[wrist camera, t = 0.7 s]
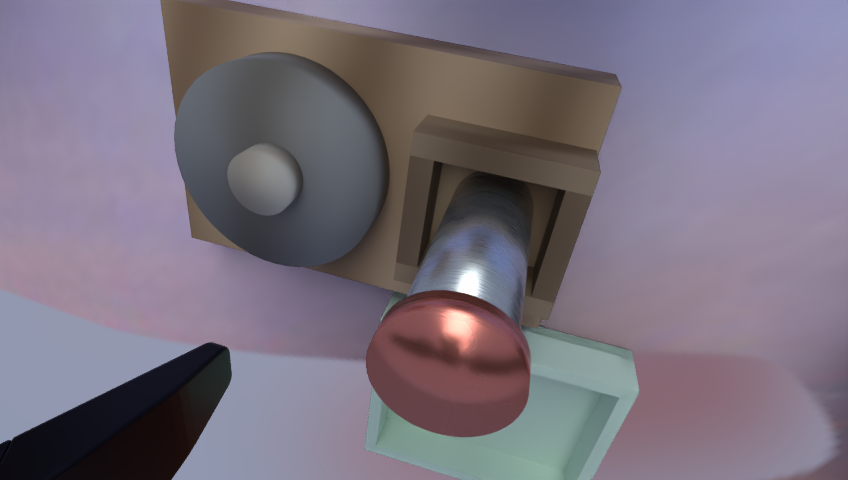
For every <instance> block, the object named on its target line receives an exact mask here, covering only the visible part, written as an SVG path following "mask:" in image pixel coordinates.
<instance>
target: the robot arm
mask: <svg viewBox="0 0 848 480" xmlns="http://www.w3.org/2000/svg"><path fill="white" fill-rule="evenodd" d="M231 376H232V372H231V363H230V352H229V349H228V348H227V347H225V346H222V345H219V344H216V343H211V342H210V343H206V344H203V345H201V346H199V347H197V348H195V349H193V350H191V351H189V352H187V353H185V354H183V355H181V356H179V357H177V358H175V359H173V360H171V361H169V362H167V363H165V364H163V365H161V366H159V367H156V368H154V369H152V370H150V371H148V372H146V373H144V374H142V375H140V376H138V377H136V378H134V379H132V380H130V381H128V382H126V383H124V384H122V385H120V386H118V387H116V388H114V389H112V390H110V391H107V392H106V393H104V394H102V395H99V396H97V397H95V398H93V399H91V400H89V401H87V402H85V403H83V404H81V405H79V406H77V407H75V408H73V409H71V410H69V411H67V412H65V413H63V414H61V415H58V416H57V417H54V418H52V419H50V420H48V421H46V422H44V423H42V424H40V425H38V426H36V427H34V428H32V429H30V430H28V431H26V432H24V433H22V434H20V435H18V436H16V437H14V438H13V439H12V441H11V440H7V441H5V442H3V443H1V444H0V480H171V479H172V478H173V477H174V475H175V473H176V472H177V471H178V469H179V468H180V467H181V465H182V464H183V462H184V461H185V459H186V458H187V456H188V455H189V454H190V452H191V450H192V449H193V447H194V445H195V444H196V442H197V440H198V439H199V437H200V435H201V433H202V432H203V430H204V428H205V426H206V425H207V423H208V421H209V419H210V417H211V416H212V414H213V412H214V410H215V409H216V407H217V405H218V403H219V402H220V400H221V398H222V396H223V395H224V393H225V391H226V389H227V388H228V386H229V383H230V381H231Z"/></svg>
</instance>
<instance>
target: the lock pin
mask: <svg viewBox="0 0 848 480" xmlns="http://www.w3.org/2000/svg"><path fill="white" fill-rule="evenodd" d="M533 209H534V206H533V199H532V196H531V193H530V191H529V189H528V188H527V186H526V185H525V184H524V183H523V182H522V181H521V180H518V179H513V178H509V177H504V176H500V175H495V174H491V173H486V172H482V171H476V172H474V173H472V174H470V175H468V176H467V177H465V178H464V179H463V180H462V181H461V182H460V183H459V185H458V186H457V188H456V190H455V192H454V194H453V196H452V199H451V201H450V203H449V205H448V207H447V209H446V212H445V214H444V216H443V218H442V220H441V223H440V225H439V227H438V229H437V231H436V234H435V236H434V238H433V240H432V242H431V244H430V247H429V249H428V251H427V253H426V255H425V258H424V260H423V262H422V264H421V266H420V269H419V271H418V273H417V275H416V277H415V280H414V282H413V284H412V286H411V288H410V290H409V293H408V295H407V297H405V298H404V299H402V300H400V301H398V302H397V303H396V304H395V305H393V306H392V307H391V308H390V309H389V310H388V311H387V312H386V314H385V315H384V317H383V319H382V320H381V322H380V324H379V326H378V328H377V330H376V332H375V335H374V337H373V339H372V341H371V343H370V345H369V348H368V350H367V356H366V368H367V374H368V377H369V380H370V382H371V385H372V387H373V389H374V390H375V392H376V393H377V395H378V396H379V397H380V399H381V400H382V401H383V402H384V403H385V404H386V405H387V406H388V407H389V408H390V409H391V410H392V411H393V412H394V413H396V414H397V415H398V416H400V417H401V418H403V419H404V420H406V421H408V422H409V423H411V424H413V425H415V426H417V427H419V428H422V429H424V430H427V431H430V432H433V433H437V434H441V435H446V436H452V437H477V436H483V435H488V434H491V433H494V432H497V431H499V430H501V429H503V428H505V427H507V426H508V425H510V424H511V423H513V422H514V421H515V420H516V419H517V418H518V417H519V416H520V414H521V413H522V412H523V410H524V408H525V406H526V404H527V401H528V397H529V387H530V373H531V352H530V349H529V345H528V343H527V340H526V338H525V336H524V334H523V333H522V331H521V325H522V316H523V306H524V296H525V287H526V277H527V267H528V258H529V248H530V239H531V229H532V219H533Z"/></svg>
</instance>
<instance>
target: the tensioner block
mask: <svg viewBox="0 0 848 480" xmlns="http://www.w3.org/2000/svg"><path fill="white" fill-rule="evenodd" d="M160 1H161V8H162V16H163V24H164V31H165V39H166V46H167V54H168V61H169V69H170V76H171V84H172V92H173V99H174V107H175V114H176V122H175V134H174V140H175V152H176V157H177V162H178V166H179V169H180V172H181V175H182V178H183V180H184V182H185V190H186V197H187V205H188V212H189V220H190V227H191V235H192V238H196V239H200V240H204V241H207V242H211V243H215V244H219V245H222V246H226V247H230V248H234V249H238V250H241V251H245V252H249V253H250V254H252V255H254V256H257V257H259V258H261V259H263V260H266V261H270V262H273V263H276V264H281V265H285V266H294V267H305V268H309V269H313V270H317V271H320V272H324V273H328V274H332V275H335V276H339V277H343V278H347V279H350V280H354V281H358V282H362V283H365V284H369V285H373V286H377V287H381V288H384V289H388V290H392V291H396V292H399V293H403V294H407V295H408V293H409V290H410V288H411V286H412V284H413V282H414V280H415V277H416V275H417V273H418V271H419V269H420V266H421V264H422V262H423V260H424V258H425V255H426V253H427V251H428V249H429V247H430V244H431V242H432V240H433V238H434V236H435V234H436V231H437V229H438V227H439V225H440V223H441V220H442V218H443V216H444V214H445V212H446V209H447V207H448V205H449V203H450V201H451V199H452V196H453V194H454V192H455V190H456V188H457V186H458V185H459V183H460V182H461V181H462V180H463V179H464V178H465V177H467V176H468V175H470V174H472V173H474V172H476V171H482V172H486V173H491V174H495V175H500V176H504V177H509V178H513V179H518V180H521V181H522V182H523V183H524V184H525V185H526V186H527V188H528V189H529V191H530V193H531V196H532V199H533V206H534V209H533V219H532V229H531V239H530V248H529V258H528V267H527V277H526V287H525V296H524V306H523V316H522V325H524V326H527V327H531V328H535V329H538V326H539V323H540V320H541V319H545V320H548V318H549V315H550V313H551V310H552V307H553V304H554V302H555V299H556V296H557V293H558V290H559V288H560V285H561V282H562V279H563V276H564V274H565V271H566V268H567V265H568V263H569V260H570V257H571V254H572V251H573V249H574V246H575V243H576V240H577V237H578V235H579V232H580V229H581V226H582V224H583V221H584V218H585V215H586V212H587V210H588V207H589V204H590V201H591V198H592V196H593V193H594V190H595V187H596V184H597V182H598V179H599V176H600V173H601V171H600V165H599V160H598V154H599V151H600V148H601V145H602V142H603V140H604V137H605V134H606V131H607V128H608V125H609V122H610V120H611V117H612V114H613V111H614V108H615V105H616V102H617V99H618V97H619V94H620V91H621V88H622V86H621V84H620V82H619V80H618V78H617V76H616V74H611V73H605V72H600V71H595V70H590V69H584V68H579V67H574V66H569V65H564V64H558V63H553V62H548V61H543V60H537V59H532V58H527V57H522V56H517V55H511V54H506V53H501V52H496V51H490V50H485V49H480V48H475V47H470V46H464V45H459V44H454V43H449V42H443V41H438V40H433V39H428V38H422V37H417V36H412V35H407V34H402V33H396V32H391V31H386V30H381V29H375V28H370V27H365V26H360V25H355V24H349V23H344V22H339V21H334V20H328V19H323V18H318V17H313V16H308V15H302V14H297V13H292V12H287V11H281V10H276V9H271V8H266V7H261V6H255V5H250V4H245V3H240V2H234V1H229V0H160Z"/></svg>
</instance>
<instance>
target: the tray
mask: <svg viewBox="0 0 848 480" xmlns="http://www.w3.org/2000/svg"><path fill="white" fill-rule="evenodd" d="M405 297H407V294H403V293H399V292H396V291H395V292H394V294H393V296H392V298H391V299H390V301H389V303H388V305H387V307H386V309H385V311H384V313H383V315H382V317H381V319H380V322H381V320H382V319H383V317H384V315H385V314H386V312H387V311H388V310H389V309H390V308H391V307H392V306H393V305H395V304H396V303H397V302H398V301H400V300H402V299H404V298H405ZM521 331H522V333H523V334H524V336H525V338H526V340H527V343H528V345H529V349H530V352H531V373H530V387H529V397H528V401H527V404H526V406H525V408H524V410H523V412H522V413H521V414H520V416H519V417H518V418H517V419H516V420H515V421H514V422H513V423H511V424H510V425H508V426H507V427H505V428H503V429H501V430H499V431H497V432H494V433H491V434H488V435H483V436H477V437H452V436H446V435H441V434H437V433H433V432H430V431H427V430H424V429H422V428H419V427H417V426H415V425H413V424H411V423H409V422H408V421H406V420H404V419H403V418H401V417H400V416H398V415H397V414H396V413H394V412H393V411H392V410H391V409H390V408H389V407H388V406H387V405H386V404H385V403H384V402H383V401H382V400H381V399H380V397H379V396H378V395H377V393H376V392H375V390H374V389H373V387H372V391H371V399H370V407H369V416H368V424H367V432H366V441H365V450H368V451H371V452H374V453H377V454H381V455H384V456H387V457H390V458H393V459H396V460H400V461H403V462H406V463H409V464H413V465H416V466H419V467H422V468H425V469H428V470H431V471H435V472H438V473H441V474H444V475H447V476H451V477H454V478H457V479H460V480H592V478H593V477H594V475H595V473H596V471H597V469H598V467H599V466H600V463H601V462H602V460H603V458H604V456H605V454H606V453H607V451H608V449H609V447H610V445H611V443H612V442H613V440H614V438H615V436H616V434H617V432H618V431H619V429H620V427H621V425H622V423H623V421H624V420H625V418H626V416H627V414H628V412H629V410H630V409H631V407H632V405H633V403H634V401H635V400H636V398H637V396H638V394H639V387H638V381H637V376H636V371H635V365H634V360H633V354H632V351H631V350H627V349H623V348H619V347H615V346H612V345H608V344H604V343H600V342H597V341H593V340H589V339H585V338H581V337H578V336H574V335H570V334H566V333H563V332H559V331H555V330H551V329H547V328H544V327H540V326H538V329H535V328H531V327H527V326H524V325H521Z"/></svg>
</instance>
